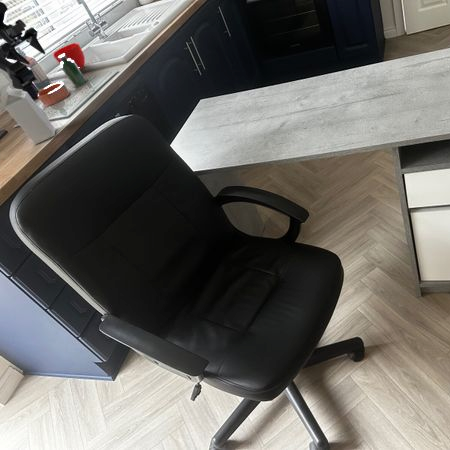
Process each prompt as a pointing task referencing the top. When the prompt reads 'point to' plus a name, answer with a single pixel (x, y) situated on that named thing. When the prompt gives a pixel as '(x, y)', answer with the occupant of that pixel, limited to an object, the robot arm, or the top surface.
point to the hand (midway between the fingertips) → (37, 58)
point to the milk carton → (28, 115)
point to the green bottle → (72, 71)
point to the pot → (53, 94)
